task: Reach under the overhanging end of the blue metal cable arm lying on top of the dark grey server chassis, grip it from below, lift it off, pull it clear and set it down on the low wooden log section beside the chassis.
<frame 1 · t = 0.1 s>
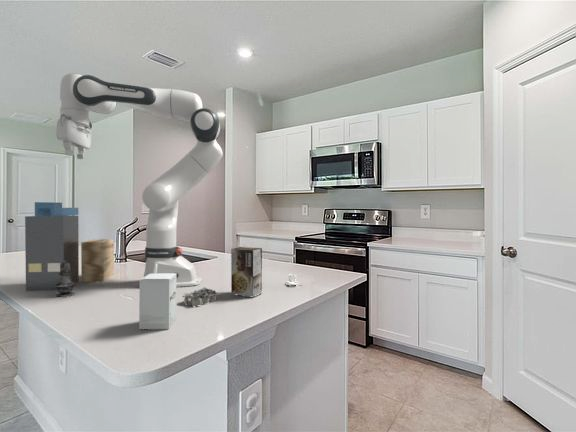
hand: (74, 157, 122), 48 cm above the counter, tool pointing down, fingers open, 8 cm apart
wooden log section: (98, 278, 136), on the counter
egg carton: (200, 303, 105), on the counter
chassis: (53, 285, 122), on the counter
coffee box: (246, 294, 114), on the counter
cable arm: (60, 215, 126), point 26 cm above the counter, touching chassis
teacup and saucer: (285, 286, 129), on the counter
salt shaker: (65, 295, 110), on the counter
supplement box: (158, 325, 84), on the counter
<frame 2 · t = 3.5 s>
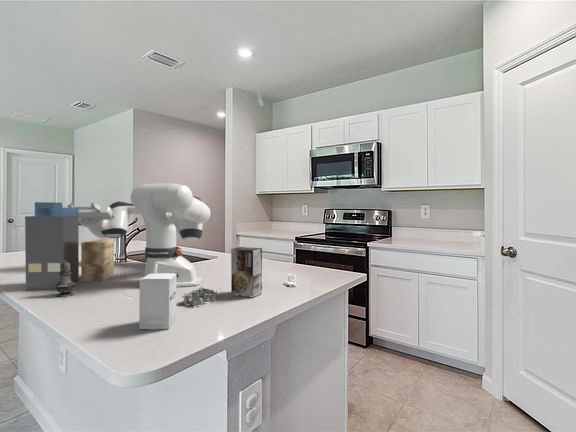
hand: (81, 204, 144), 30 cm above the counter, tool pointing upward, fingers open, 8 cm apart
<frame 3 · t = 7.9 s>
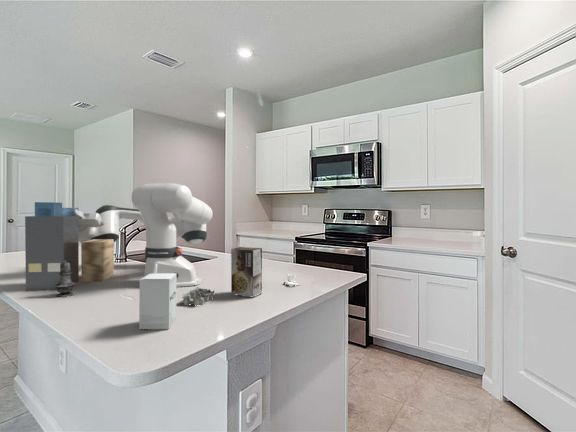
hand: (66, 210, 131), 28 cm above the counter, tool pointing upward, fingers closed on cable arm, 4 cm apart
cable arm: (60, 215, 126), point 26 cm above the counter, touching chassis, gripper
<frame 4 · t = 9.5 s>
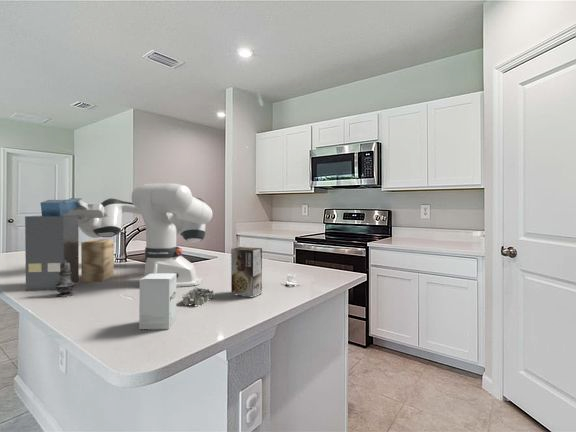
hand: (71, 201, 135), 32 cm above the counter, tool pointing upward, fingers closed on cable arm, 4 cm apart
cable arm: (65, 210, 130), point 28 cm above the counter, tilted 11°, touching chassis, gripper
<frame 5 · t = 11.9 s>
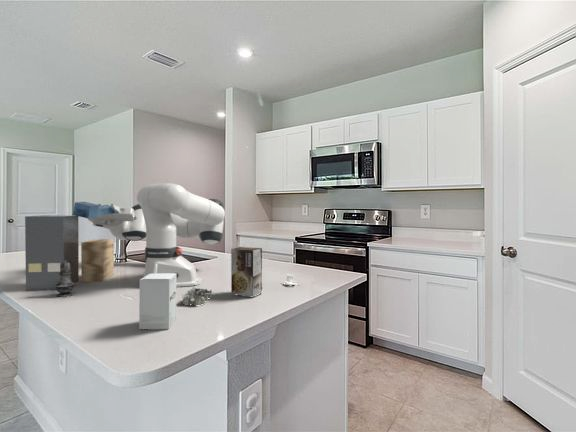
hand: (105, 205, 143), 30 cm above the counter, tool pointing upward, fingers closed on cable arm, 4 cm apart
cable arm: (96, 214, 137), point 26 cm above the counter, tilted 13°, touching chassis, gripper
when the fingers open (18 cm above the counter, at t = 14.3 s): cable arm moves 1 cm and tips over, resting on wooden log section.
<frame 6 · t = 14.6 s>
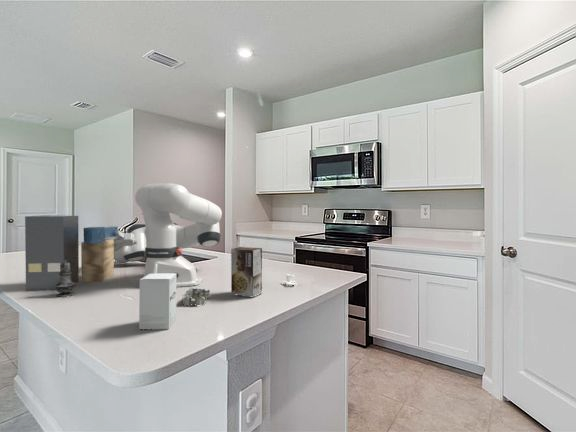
hand: (105, 232, 143), 18 cm above the counter, tool pointing upward, fingers open, 8 cm apart
cable arm: (98, 233, 136), point 19 cm above the counter, tilted 90°, touching wooden log section
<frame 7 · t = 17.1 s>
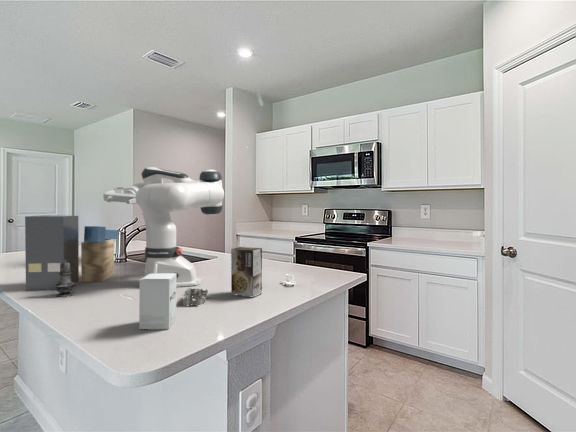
hand: (118, 201, 156), 32 cm above the counter, tool horizontal, fingers open, 8 cm apart
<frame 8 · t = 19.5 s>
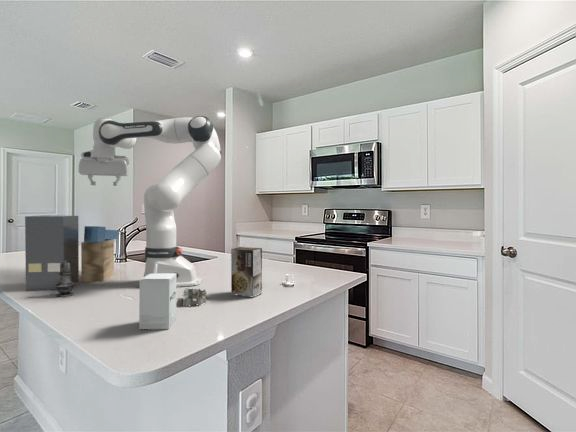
hand: (104, 185, 150), 39 cm above the counter, tool pointing down, fingers open, 8 cm apart
at the end: cable arm inside the target area (1.5 cm from its centre), point 18.0 cm above the counter; the gripper is holding nothing; cable arm moved 15.8 cm from its start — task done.
